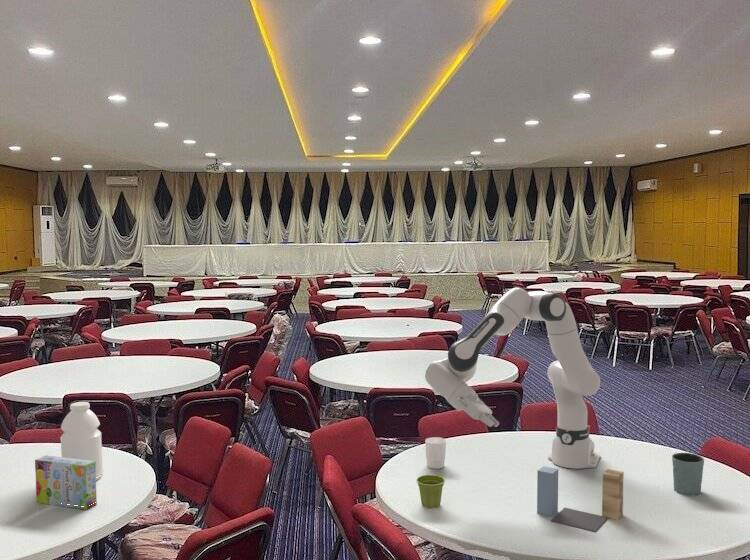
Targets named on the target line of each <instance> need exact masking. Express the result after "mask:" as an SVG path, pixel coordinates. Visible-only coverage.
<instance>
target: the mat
mask: <svg viewBox="0 0 750 560" xmlns="http://www.w3.org/2000/svg"><path fill="white" fill-rule="evenodd" d="M608 519H609V518H608V517H604V516H602V515H598V514H594V513H591V512H590V513H589V512H586V511H583V510H582V511H581V510H578V509H572V508H568V507H563V509H561V510H560V511H559V512H557V513H556V514H555V515H554V516H553V518H552V519H550V522H553V523H557V524H560V525H561V524H562V525H564V526H565V525H566V526H569V527H573V528H578V529H581V530H586V531H590V532H594V533H596V532H597V531H598V530H599V529H600V528H601V526H602V525H604V523H605V522H606V521H607V520H608Z"/></svg>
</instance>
